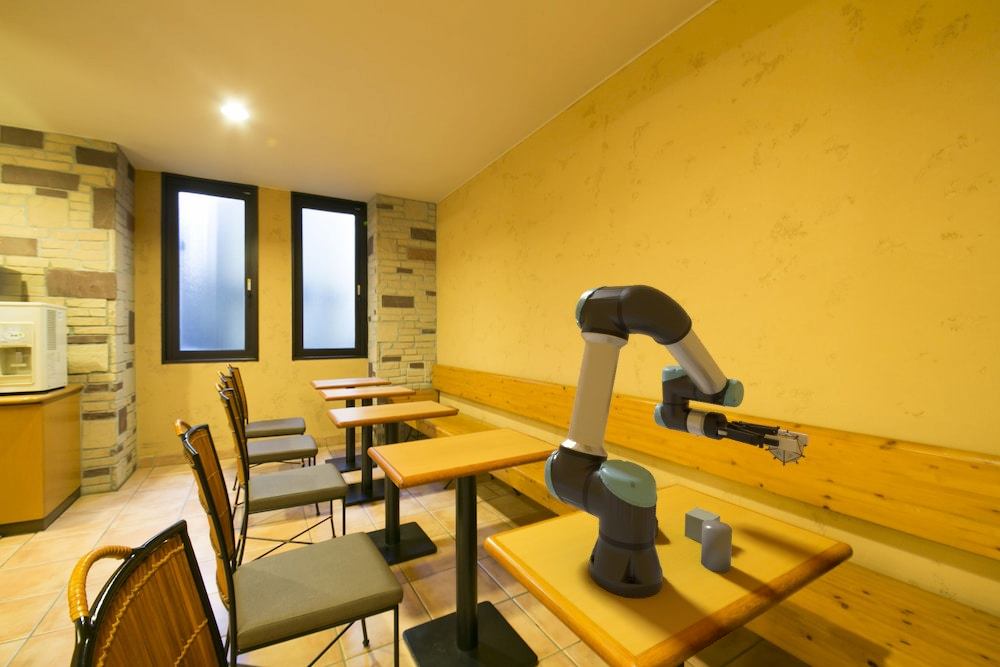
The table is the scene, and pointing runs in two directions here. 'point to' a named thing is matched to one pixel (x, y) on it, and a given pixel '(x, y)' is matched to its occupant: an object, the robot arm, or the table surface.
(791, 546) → the table surface
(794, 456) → the game die
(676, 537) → the table surface
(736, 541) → the table surface
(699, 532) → the olive block
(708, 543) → the gray cylinder
